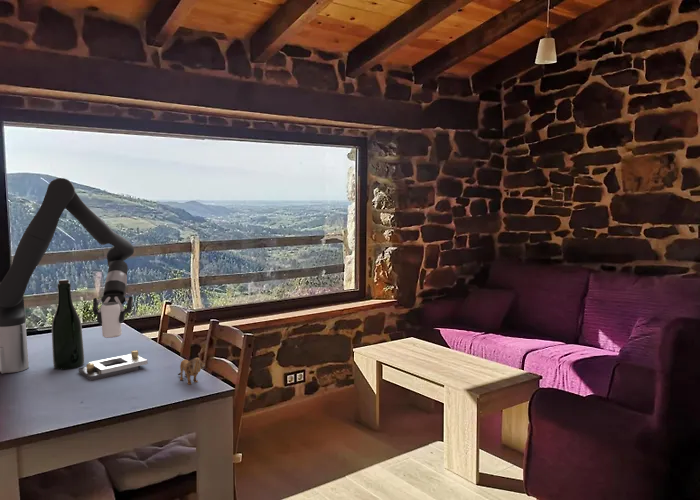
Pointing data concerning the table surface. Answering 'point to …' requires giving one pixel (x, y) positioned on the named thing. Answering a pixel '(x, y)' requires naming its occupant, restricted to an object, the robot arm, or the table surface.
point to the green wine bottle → (66, 331)
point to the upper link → (126, 360)
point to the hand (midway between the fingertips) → (110, 322)
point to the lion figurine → (191, 369)
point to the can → (110, 320)
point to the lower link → (94, 375)
